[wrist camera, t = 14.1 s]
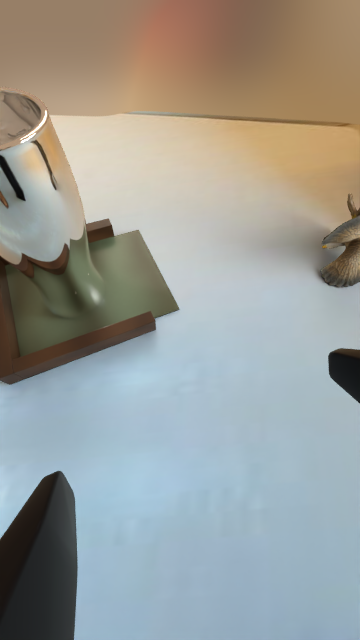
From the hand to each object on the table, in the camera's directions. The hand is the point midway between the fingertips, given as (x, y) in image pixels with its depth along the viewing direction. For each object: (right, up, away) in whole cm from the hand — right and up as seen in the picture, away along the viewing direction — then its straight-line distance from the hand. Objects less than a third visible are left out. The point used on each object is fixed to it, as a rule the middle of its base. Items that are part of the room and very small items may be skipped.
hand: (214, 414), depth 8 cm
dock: (-12, +6, +18) cm, 22 cm away
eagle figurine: (+18, +10, +22) cm, 31 cm away
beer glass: (-12, +6, +18) cm, 22 cm away
